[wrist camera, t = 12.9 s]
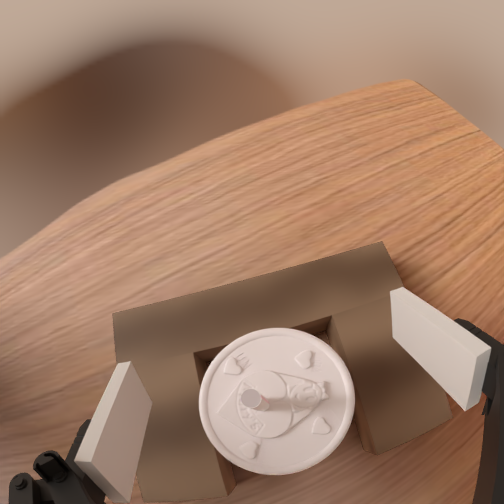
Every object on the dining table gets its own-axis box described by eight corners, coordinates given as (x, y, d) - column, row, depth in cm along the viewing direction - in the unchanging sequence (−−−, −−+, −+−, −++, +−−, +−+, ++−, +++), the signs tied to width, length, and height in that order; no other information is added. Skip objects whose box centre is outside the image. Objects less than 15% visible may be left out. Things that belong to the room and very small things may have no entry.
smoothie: (226, 374, 21) (145, 306, 9) (314, 354, 21) (352, 260, 9) (243, 458, 18) (177, 516, 6) (335, 438, 18) (413, 466, 6)
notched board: (430, 419, 17) (453, 417, 14) (163, 492, 17) (143, 502, 14) (371, 263, 24) (382, 241, 21) (133, 328, 23) (112, 313, 20)
